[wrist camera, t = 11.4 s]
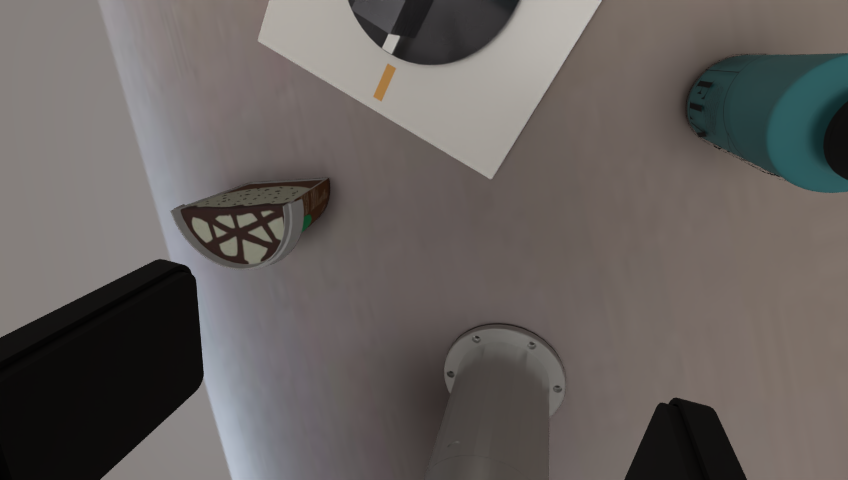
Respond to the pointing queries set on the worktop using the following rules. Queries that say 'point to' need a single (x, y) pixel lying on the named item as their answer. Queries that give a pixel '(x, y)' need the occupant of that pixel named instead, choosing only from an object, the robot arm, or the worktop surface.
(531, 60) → the dial plate
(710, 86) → the beverage bottle
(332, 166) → the worktop surface
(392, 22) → the dial
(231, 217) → the food container
